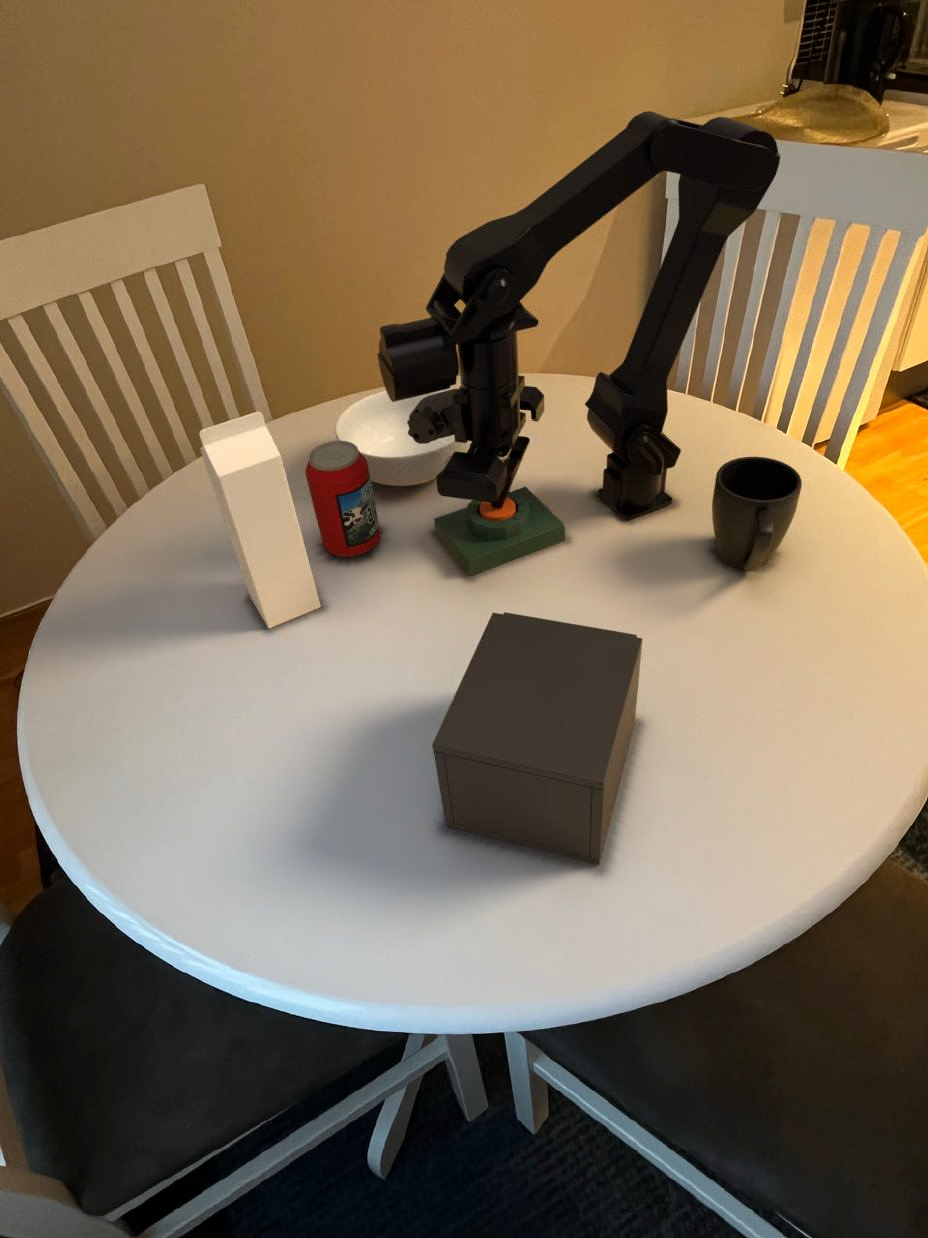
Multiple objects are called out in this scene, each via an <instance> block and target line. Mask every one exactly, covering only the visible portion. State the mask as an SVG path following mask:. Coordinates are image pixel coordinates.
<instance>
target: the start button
mask: <svg viewBox="0 0 928 1238" xmlns="http://www.w3.org/2000/svg"><path fill="white" fill-rule="evenodd" d="M515 514H516V506H515V503H514V501H513V500H511V499H510V498H507V497H506V500H505V502H504V505H503V507H502V508H501V509H498V508H493V507H492V506H491V503H490V502H482V503H481V504H480V516H481V518H484V519H487V520H490V521H503V520H505V519H508V518H511V517H513V516H514V515H515Z"/></svg>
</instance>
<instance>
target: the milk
mask: <svg viewBox="0 0 928 1238" xmlns="http://www.w3.org/2000/svg"><path fill="white" fill-rule="evenodd" d="M198 434H199V438H200V442H201V444H202V445H201V447H199V450H200V453H201V457H202V459H203V462H204V465H205V468H206V471H207V474H208V477H209V479H210V483H211V485H212V489H213V492H214V494H215V498H216V500H217V504H218V506H219V509H220V511H221V515H222V519H223V521H224V523H225V527H226V530H227V533H228V535H229V538H230V541H231V544H232V547H233V550H234V553H235V556H236V559H237V562H238V565H239V568H240V569H241V574H242V576H243V580H244V582H245V585H246V587H247V588H246V589H247V591H248V594H249V597H250V599H251V601H252V603H253V604H254V606H255V607H256V610H257V611H258V613H259V614H260V616H261V619H262V620H263V621H264V623H265V624H266V627H267V628H268V629H271V628H272V629H273V628H274V627H276V626H278V625H281V624H284V623H286V622H288V621H291V620H293V619H296V618H298V617H301V616H303V615H305V614H308V613H310V612H313V611H315V610H318V609H320V608H321V607H322V606H321V602H320V598H319V595H318V592H317V587H316V583H315V580H314V577H313V571H312V568H311V564H310V561H309V558H308V557H309V556H308V553H307V550H306V546H305V542H304V539H303V536H302V535H303V534H302V532H301V527H300V524H299V520H298V516H297V512H296V509H295V505H294V500H293V497H292V494H291V489H290V486H289V483H288V478H287V475H286V471H285V467H284V463H283V460H282V459H283V458H282V455H281V453H280V451H279V449H278V447H277V446H276V443H275V441H274V439H273V438H272V436H271V433H270V431H269V429H268V428H267V426H266V421H265V418H264V415H263V413H262V412H261V411H255V412H252V413H249V414H246V415H242V416H239V417H237V418H234V419H230V420H228V421H224V422H222V423H218V424H215V425H212V426H209V427H206V428H202V429H201V430H200V431H199V432H198Z"/></svg>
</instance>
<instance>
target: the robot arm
mask: <svg viewBox="0 0 928 1238" xmlns="http://www.w3.org/2000/svg"><path fill="white" fill-rule="evenodd" d="M780 162H781V154H780V152H779V148H778V143H777V141H776V139H775V138H774V136H773V135H772V134H771V133H769V132H768V131H766V130H764V129H761V128H759V127H755V126H753V125H750V124H747V123H744V122H741V121H739V120H735V119H733V118H730V117H726V116H717V117H714V118H711V119H709V120H708V121H706V122H705V123H703V124H701V123H696V122H693V121H692V122H691V121H687V120H683V119H678V118H672V117H667V116H665V115H662V114H659V113H657V112H654V111H652V110H650V111H649V110H648V111H643V112H641V113H638V114H637V115H635V116H633V117H632V118H631V120H630V121H629V122H628V123H627V125H626V127H625V128H624V129H623V130H621V131H620V132H619V133H617V134H616V135H615V136H614V137H612V138H611V139H610V140H608V142H606V143H605V144H603V145H602V146H601V147H600V148H599V149H598V150H596V151H595V152H593V154H591V155H590V156H589V157H588V158H586V159H585V160H583V161H582V162H581V163H580V164H578V165H577V166H576V167H574V168H573V169H572V170H570V172H568V173H567V174H565V175H564V176H563V177H562V178H561V179H559V180H558V181H557V182H556V183H554V184H553V185H552V186H550V187H549V188H548V189H547V190H546V191H544V192H543V193H542V194H540V196H538V197H537V198H535V199H534V200H533V201H532V202H530V203H529V204H528V205H527V206H525V207H523V208H522V209H520V210H518V211H517V212H515V213H513V214H509V215H506V216H503V217H499V218H496V219H493V220H489V221H487V222H486V223H484V224H482V225H480V226H478V227H477V228H475V229H473V230H471V231H469V232H468V233H466V234H463V235H462V236H461V237H459V238H457V239H456V240H455V241H454V242H453V243H452V244H451V245H450V246H449V247H448V249H447V251H446V253H445V260H444V267H443V271H444V272H443V273H442V275H441V278H440V279H439V281H438V283H437V285H436V287H435V289H434V290H433V293H432V295H431V296H430V299H429V301H428V302H427V304H426V306H425V311H426V312H427V314H428V315H429V316H430V317H428V318H423V319H419V320H413V321H409V322H405V323H391V324H387V325H382V326H380V327H379V334H380V340H378V352H377V353H376V355H377V361H378V367H379V371H380V375H381V379H382V382H383V385H384V389H385V391H387V394H388V396H389V398H390V400H391V401H392V402H396V401H400V400H404V399H408V398H412V397H416V396H420V395H425V394H429V393H433V392H437V391H444V392H440V393H437V394H433V395H430V396H427V397H425V398H423V399H422V400H421V401H420V402H419V403H418V404H417V406H416V407H415V409H414V410H413V411H412V413H411V414H410V415H409V420H408V421H407V424H408V426H409V431H408V434H409V436H410V437H413V439H414V441H415V442H417V443H419V444H427V443H430V442H431V441H435V440H437V439H440V438H444V437H448V436H451V435H454V437H455V442H460V443H467V441H471V442H470V445H469V448H468V450H467V452H466V453H464V452H456V451H455V452H454V453H453V454H452V455H451V456H449V457H448V458H447V460H446V461H445V463H444V464H443V466H442V468H441V469H440V471H439V472H438V474H437V475H436V479H435V482H436V490H437V494H439V496H440V497H444V498H445V497H446V498H453V499H459V500H460V499H461V500H468V501H472V500H475V501H483V502H490V503H491V506H492V507H493V508H498V509H501V508H502V507H503V505H504V502H505V500H506V497H507V495H508V493H509V491H510V490H511V488H512V485H513V483H514V480H515V478H516V475H517V473H518V470H519V469H520V466H521V463H522V461H523V460H524V455H525V454H526V451H527V449H528V446H529V445H530V442H531V439H530V437H528V436H524V435H520V433H521V432H522V430H523V428H524V426H525V424H526V422H527V413H526V412H523V411H530V419H531V420H532V422H537V423H539V422H540V419H541V418H542V416H543V414H544V412H545V394H544V393H543V392H542V391H541V390H540V389H539V388H538V387H537V386H531V385H530V386H529V385H526V381H525V380H526V379H525V377H526V376H525V375H520V373H519V355H518V349H519V348H518V332H520V331H524V330H528V329H533V328H536V327H537V326H538V325H539V323H540V322H539V319H538V318H537V317H536V316H535V315H534V314H533V313H532V312H531V311H529V309H527V307H525V306H524V304H523V303H522V302H521V301H522V300H523V299H524V298H525V297H526V296H527V295H528V294H529V293H530V292H531V290H533V288H535V286H536V285H537V284H538V282H539V281H540V278H541V277H542V274H543V273H544V271H545V269H546V267H547V265H548V264H549V262H550V261H551V260H552V259H553V258H554V257H555V256H556V255H557V254H558V253H559V252H560V251H561V250H563V249H564V248H565V247H567V246H568V245H569V244H571V243H572V242H573V241H574V240H576V239H577V238H578V237H579V236H581V235H582V234H583V233H585V232H586V231H587V230H589V229H590V228H591V227H592V226H594V225H595V224H596V223H598V222H599V221H600V220H601V219H602V218H604V217H606V216H607V215H608V214H609V213H610V212H611V211H613V210H614V209H615V208H617V207H618V206H619V205H620V204H622V203H623V202H625V201H626V200H627V199H628V198H630V197H631V196H632V195H633V194H635V193H637V191H639V190H640V189H641V188H642V187H644V186H645V185H646V184H647V183H649V182H650V181H651V180H653V179H654V178H656V177H657V176H658V175H659V174H661V173H663V172H669V173H673V174H677V175H679V178H678V183H677V187H678V188H677V189H678V191H677V193H678V220H677V224H676V227H675V229H674V231H673V233H672V237H671V240H670V242H669V244H668V248H667V249H666V252H665V255H664V257H663V259H662V260H663V261H662V262H661V265H660V269H659V270H658V274H657V276H656V278H655V281H654V283H653V286H652V289H651V290H650V293H649V296H648V298H647V301H646V304H645V306H644V308H643V311H642V314H641V316H640V319H639V321H638V324H637V327H636V329H635V332H634V335H633V337H632V340H631V342H630V345H629V346H628V347H629V348H628V350H627V352H626V356H625V358H624V360H623V361H622V363H621V364H620V365H619V366H618V367H617V368H615V369H614V370H613V371H612V372H610V374H608V373H605V372H603V371H600V372H598V373H597V375H596V377H595V380H594V385H593V389H592V392H591V394H590V396H589V398H588V399H587V400H586V402H585V403H584V405H585V407H586V408H587V413H586V421H587V422H588V425H589V428H590V429H591V430H592V432H593V433H595V435H597V437H598V438H599V439H600V440H601V441H602V442H603V443H604V444H605V445H606V446H607V448H609V449H610V450H611V451H612V452H610V453H608V454H606V468H604V469H603V472H602V473H603V474H602V487H601V488H599V489H598V490H597V495H598V497H600V498H601V499H602V500H603V501H604V502H606V503H607V504H608V505H609V506H610V507H611V508H612V509H613V510H615V511H616V513H618V514H619V515H620V516H621V517H623V519H625V520H629V521H630V520H632V519H635V518H638V517H640V516H643V515H645V514H648V513H651V512H654V511H656V510H659V509H661V508H664V507H667V506H669V505H672V504H673V500H674V499H673V497H672V496H671V495H669V493H666V483H667V473H668V470H669V469H671V468H674V467H675V466H676V464H677V461H678V460H679V457H680V456H681V452H682V449H681V448H680V447H679V446H678V445H677V444H675V442H673V441H672V440H671V439H670V438H669V437H668V436H667V435H666V434H665V433H664V432H663V430H664V427H665V423H666V421H667V420H666V419H667V415H668V413H669V412H668V411H669V408H668V407H669V406H668V405H669V404H668V380H669V376H670V374H671V371H672V370H673V367H674V364H675V361H676V360H677V357H678V356H679V354H680V353H679V352H680V350H681V348H682V345H683V343H684V341H685V338H686V336H687V334H688V331H689V329H690V328H691V325H692V322H693V320H694V317H695V315H696V313H697V310H698V308H699V305H700V303H701V300H702V299H703V296H704V293H705V291H706V289H707V286H708V284H709V282H710V279H711V278H712V275H713V273H714V270H715V268H716V265H717V264H718V260H719V259H720V256H721V254H722V252H723V249H724V247H725V244H726V242H727V240H728V239H729V237H730V235H732V234H733V233H734V232H735V231H736V230H737V229H738V228H739V227H741V226H742V225H743V223H745V222H746V221H747V220H748V219H749V218H750V217H751V216H752V215H753V214H754V213H755V212H756V211H757V209H758V207H759V205H760V204H761V202H762V200H763V198H764V197H765V195H766V193H767V192H768V191H769V188H770V186H771V185H772V183H773V181H774V179H775V177H776V175H777V173H778V170H779V166H780ZM459 301H461V302H463V304H464V305H465V306H464V308H463V310H461V311H462V312H461V311H460V310H459V309H458V308H457V307H456V304H457V303H458V302H459ZM458 375H459V377H460V386H459V387H458V388H452V389H450V388H451V387H452V386H455V385H457V379H458V378H457V377H458Z"/></svg>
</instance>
